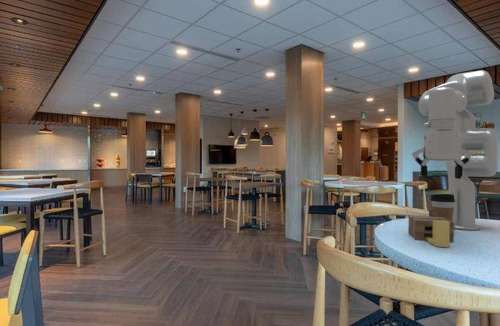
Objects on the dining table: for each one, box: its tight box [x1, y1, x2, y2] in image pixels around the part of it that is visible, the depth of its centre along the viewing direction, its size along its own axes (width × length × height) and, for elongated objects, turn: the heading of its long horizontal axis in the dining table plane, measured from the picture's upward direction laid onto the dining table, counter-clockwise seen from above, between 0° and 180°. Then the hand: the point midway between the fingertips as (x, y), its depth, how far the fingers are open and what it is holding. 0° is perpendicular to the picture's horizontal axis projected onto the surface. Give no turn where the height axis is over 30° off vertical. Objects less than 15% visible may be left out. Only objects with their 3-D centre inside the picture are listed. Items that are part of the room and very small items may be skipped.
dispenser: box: [408, 215, 455, 243], centre depth 112 cm, size 11×12×7 cm
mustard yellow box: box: [425, 220, 450, 248], centre depth 107 cm, size 17×5×8 cm, turn 165°
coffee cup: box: [430, 193, 455, 221], centre depth 122 cm, size 8×8×15 cm
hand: (441, 178), depth 100 cm, fingers open, 9 cm apart
